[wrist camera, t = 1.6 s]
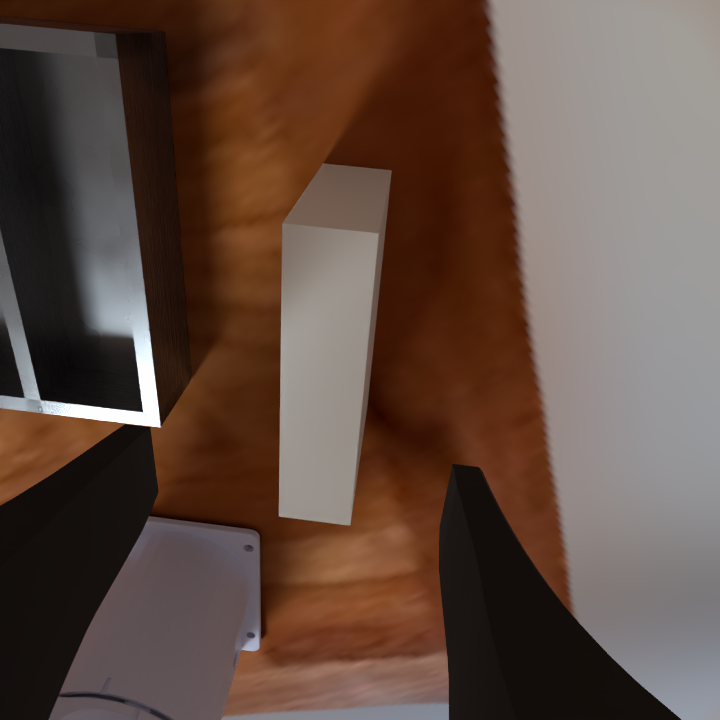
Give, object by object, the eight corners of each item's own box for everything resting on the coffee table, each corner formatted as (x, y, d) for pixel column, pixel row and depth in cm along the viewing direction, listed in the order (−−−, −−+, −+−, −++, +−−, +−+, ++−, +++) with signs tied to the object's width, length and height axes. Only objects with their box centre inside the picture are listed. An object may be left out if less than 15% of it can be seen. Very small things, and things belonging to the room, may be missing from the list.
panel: (367, 405, 26) (350, 525, 20) (312, 399, 26) (278, 516, 20) (391, 170, 21) (378, 233, 15) (323, 162, 21) (282, 222, 15)
